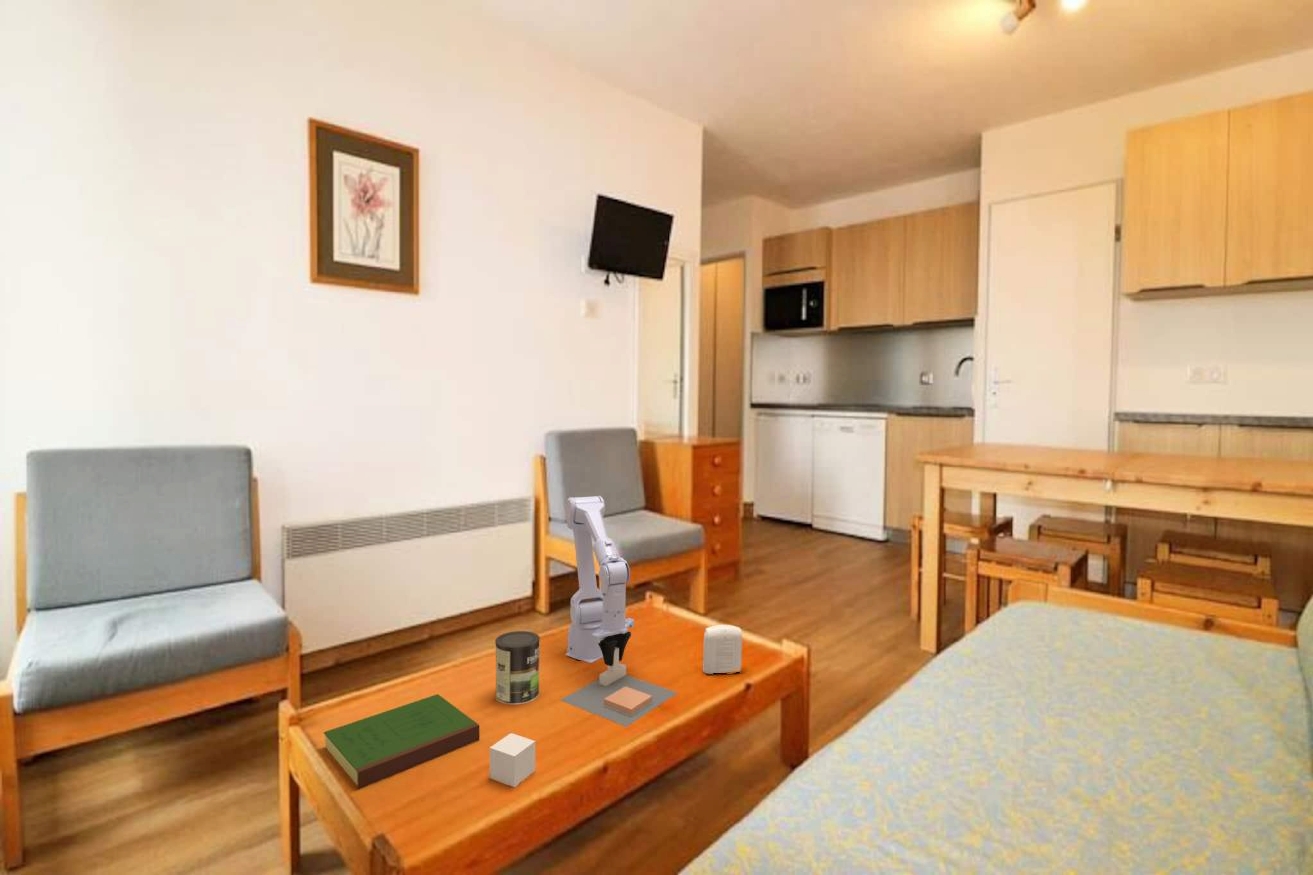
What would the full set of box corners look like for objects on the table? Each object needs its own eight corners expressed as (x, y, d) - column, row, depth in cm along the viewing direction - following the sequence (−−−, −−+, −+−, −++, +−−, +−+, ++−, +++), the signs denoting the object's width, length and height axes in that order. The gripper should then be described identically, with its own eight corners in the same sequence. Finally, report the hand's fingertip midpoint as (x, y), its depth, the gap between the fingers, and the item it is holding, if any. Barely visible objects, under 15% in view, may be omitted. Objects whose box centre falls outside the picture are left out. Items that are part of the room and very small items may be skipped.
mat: (559, 701, 150) (559, 699, 150) (613, 672, 166) (613, 670, 166) (626, 728, 138) (626, 726, 138) (677, 694, 154) (677, 692, 154)
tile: (603, 698, 147) (631, 709, 142) (625, 686, 153) (652, 695, 149) (603, 705, 147) (631, 716, 142) (625, 693, 153) (652, 702, 149)
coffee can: (545, 688, 156) (546, 632, 155) (529, 708, 146) (529, 648, 145) (506, 684, 158) (506, 628, 157) (487, 703, 148) (487, 644, 147)
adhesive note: (510, 762, 125) (511, 732, 125) (535, 771, 122) (535, 740, 122) (489, 778, 120) (489, 747, 119) (514, 787, 117) (514, 756, 117)
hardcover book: (358, 791, 116) (358, 772, 115) (324, 749, 129) (323, 732, 129) (482, 741, 133) (482, 723, 133) (441, 708, 147) (440, 692, 146)
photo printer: (738, 667, 170) (740, 622, 170) (743, 674, 166) (744, 627, 165) (701, 668, 169) (702, 623, 168) (704, 675, 165) (705, 629, 164)
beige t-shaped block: (599, 683, 158) (599, 652, 158) (619, 672, 165) (620, 642, 164) (605, 686, 157) (606, 654, 156) (625, 674, 163) (626, 644, 163)
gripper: (607, 620, 151) (606, 676, 152) (644, 605, 163) (643, 656, 164) (585, 614, 156) (584, 668, 156) (622, 599, 167) (621, 650, 168)
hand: (613, 662), depth 161 cm, fingers open, 3 cm apart
